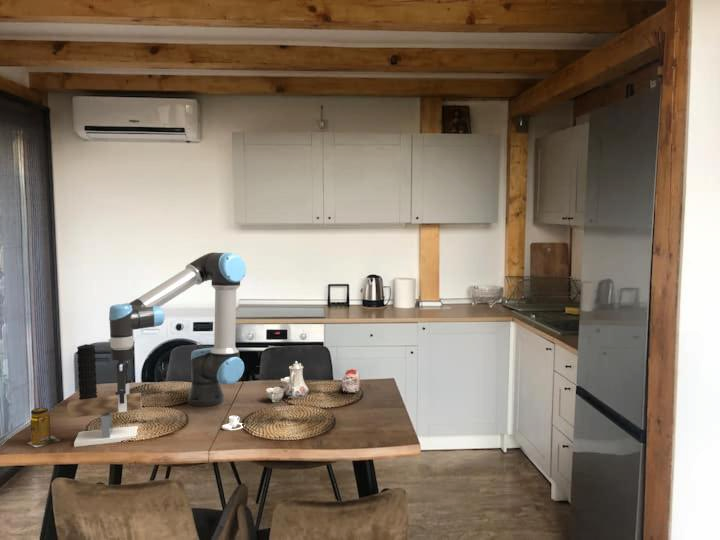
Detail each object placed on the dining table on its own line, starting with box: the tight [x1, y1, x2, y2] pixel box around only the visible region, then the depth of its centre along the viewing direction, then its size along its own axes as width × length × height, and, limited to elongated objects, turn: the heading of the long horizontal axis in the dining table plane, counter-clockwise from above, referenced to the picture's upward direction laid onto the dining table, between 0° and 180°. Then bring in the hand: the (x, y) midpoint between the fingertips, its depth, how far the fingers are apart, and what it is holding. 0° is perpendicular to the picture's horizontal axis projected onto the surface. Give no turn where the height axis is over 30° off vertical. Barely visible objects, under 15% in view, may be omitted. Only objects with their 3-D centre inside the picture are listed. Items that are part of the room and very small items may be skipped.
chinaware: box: [265, 360, 310, 403], centre depth 259 cm, size 28×17×17 cm, turn 171°
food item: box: [341, 368, 361, 392], centre depth 267 cm, size 14×8×10 cm, turn 178°
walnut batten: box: [66, 392, 143, 419], centre depth 208 cm, size 24×4×5 cm, turn 105°
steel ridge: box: [100, 413, 113, 439], centre depth 209 cm, size 2×9×8 cm, turn 18°
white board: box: [73, 425, 139, 448], centre depth 209 cm, size 20×11×2 cm, turn 107°
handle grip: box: [76, 343, 98, 400], centre depth 246 cm, size 10×26×10 cm
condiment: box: [27, 407, 60, 448], centre depth 205 cm, size 7×8×12 cm
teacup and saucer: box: [221, 415, 244, 431], centre depth 220 cm, size 9×8×4 cm
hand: (124, 406), depth 210 cm, fingers open, 12 cm apart
